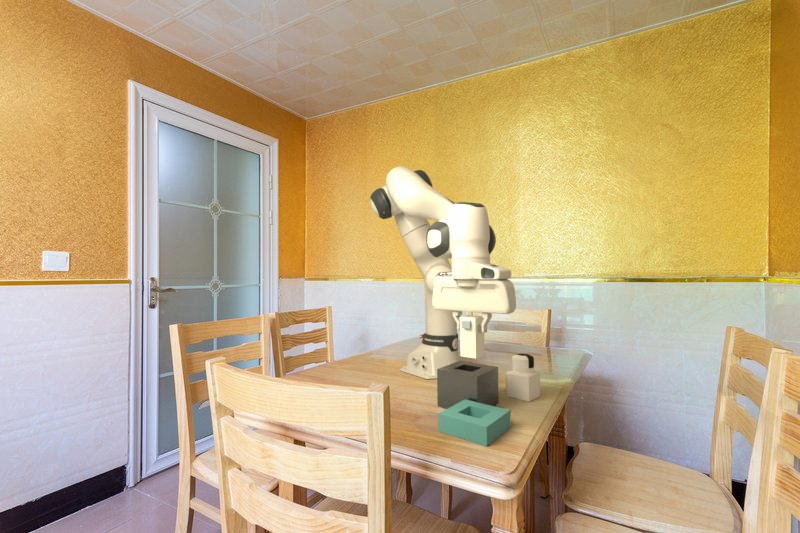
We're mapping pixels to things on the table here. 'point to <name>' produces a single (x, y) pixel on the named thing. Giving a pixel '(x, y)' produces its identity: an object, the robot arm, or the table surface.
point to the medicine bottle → (523, 378)
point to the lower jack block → (474, 421)
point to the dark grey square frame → (467, 384)
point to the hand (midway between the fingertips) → (472, 331)
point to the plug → (471, 337)
